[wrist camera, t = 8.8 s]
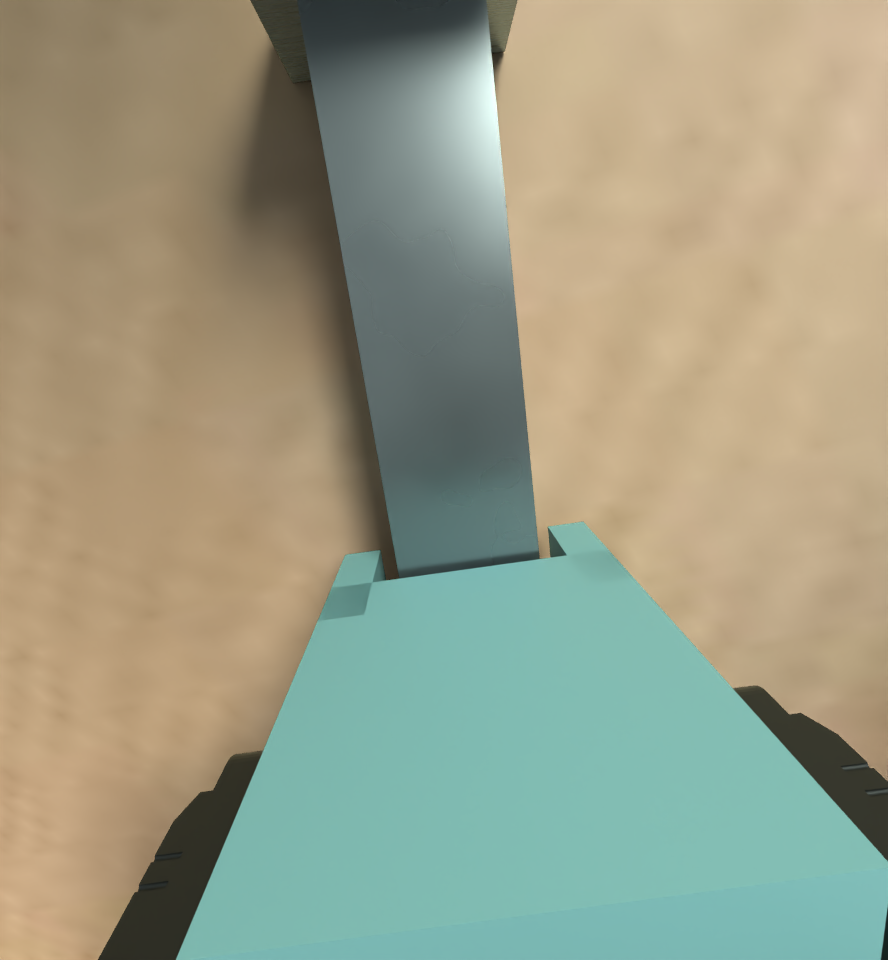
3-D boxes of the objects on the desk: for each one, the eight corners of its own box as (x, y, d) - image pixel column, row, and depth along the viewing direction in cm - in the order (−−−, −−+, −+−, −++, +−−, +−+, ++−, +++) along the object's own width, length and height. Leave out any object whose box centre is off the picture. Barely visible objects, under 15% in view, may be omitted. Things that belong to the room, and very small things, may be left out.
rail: (280, 12, 10) (59, -486, 4) (498, -20, 10) (599, -572, 4) (420, 771, 15) (413, 1049, 9) (566, 751, 15) (657, 1018, 9)
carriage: (345, 554, 11) (174, 963, 4) (583, 521, 11) (891, 865, 4) (389, 769, 13) (331, 1359, 5) (598, 741, 13) (837, 1295, 5)
